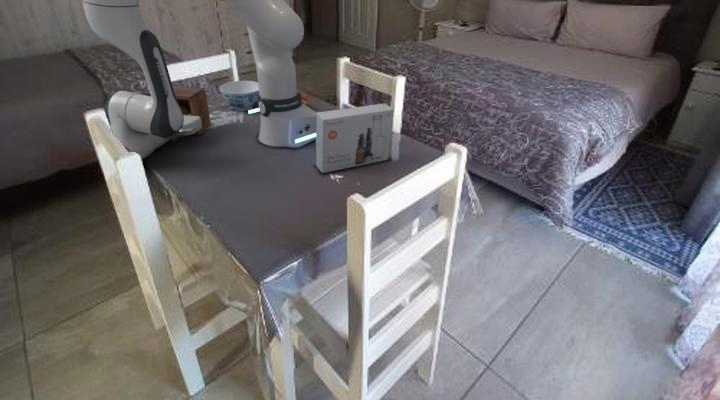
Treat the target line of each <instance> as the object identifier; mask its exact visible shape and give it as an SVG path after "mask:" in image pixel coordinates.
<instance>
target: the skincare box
mask: <svg viewBox="0 0 720 400" xmlns="http://www.w3.org/2000/svg"><path fill="white" fill-rule="evenodd" d="M394 110H395V109H394V108H393V107H391V106H390V105H388V104H387V103H378V104H369V105H363V106H356V107H348V108H342V109H341V108H339V109H333V110H326V111H318V112H316V140H315V148H316V149H315V155H316V156H315V158H316V159H315V166H316V168H317V169H318V170H319V171H320V172H321V173H322V174H324V173H325V174H326V173H331V172H335V171H339V170H344V169H349V168H354V167H360V166H364V165H370V164H375V163H379V162H380V163H381V162H383V161H388V160H389V153H390V144H391V135H392V127H393V120H394V119H393V118H394Z"/></svg>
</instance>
